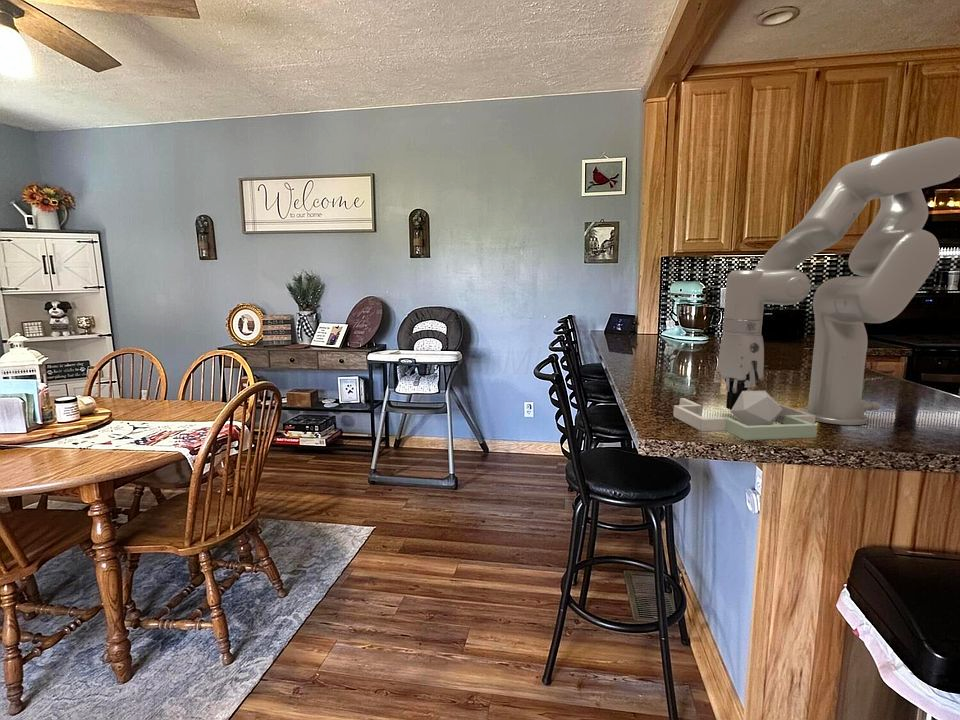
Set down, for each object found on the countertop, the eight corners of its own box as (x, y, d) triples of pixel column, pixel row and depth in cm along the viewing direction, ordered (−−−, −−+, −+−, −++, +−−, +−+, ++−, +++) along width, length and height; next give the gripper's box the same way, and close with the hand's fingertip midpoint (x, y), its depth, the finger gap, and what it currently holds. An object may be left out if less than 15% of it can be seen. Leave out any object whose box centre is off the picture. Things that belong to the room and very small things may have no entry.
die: (777, 440, 99) (796, 399, 101) (740, 419, 99) (759, 377, 101) (752, 440, 107) (770, 402, 109) (717, 420, 107) (736, 382, 109)
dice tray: (756, 405, 124) (757, 396, 123) (840, 436, 98) (841, 424, 98) (659, 408, 121) (659, 398, 121) (719, 441, 96) (720, 428, 96)
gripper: (781, 330, 101) (773, 417, 104) (737, 324, 116) (730, 401, 119) (747, 330, 100) (739, 418, 103) (706, 324, 115) (700, 401, 118)
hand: (734, 409), depth 111 cm, fingers closed
